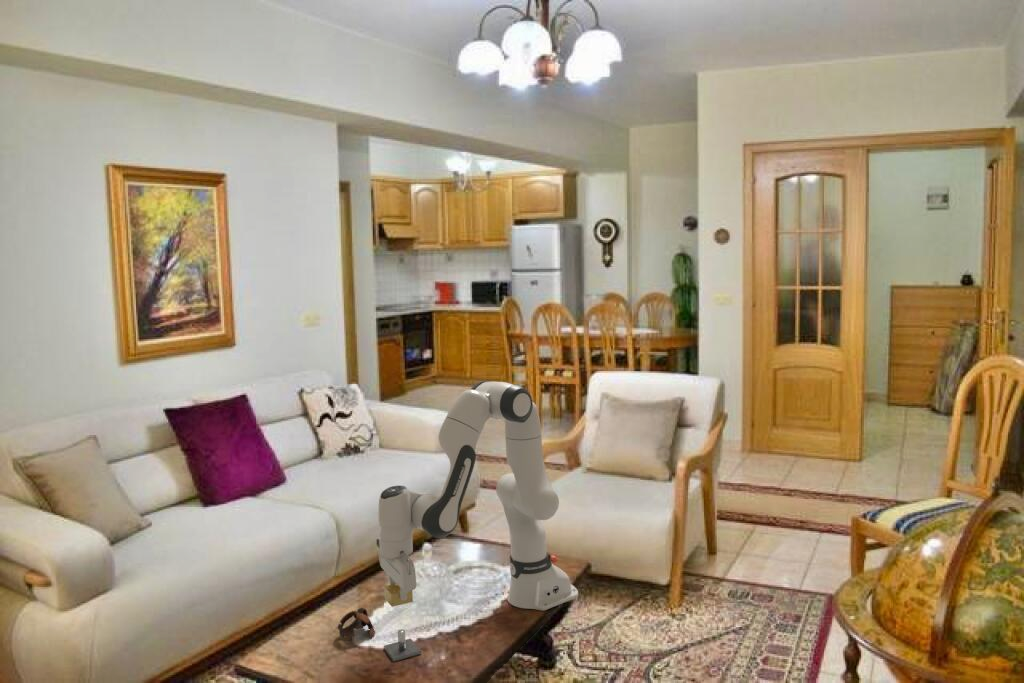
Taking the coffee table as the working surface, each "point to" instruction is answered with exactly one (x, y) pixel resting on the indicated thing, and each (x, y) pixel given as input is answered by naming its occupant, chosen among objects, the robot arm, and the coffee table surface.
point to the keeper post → (402, 648)
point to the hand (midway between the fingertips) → (398, 594)
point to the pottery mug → (356, 623)
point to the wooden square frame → (396, 595)
